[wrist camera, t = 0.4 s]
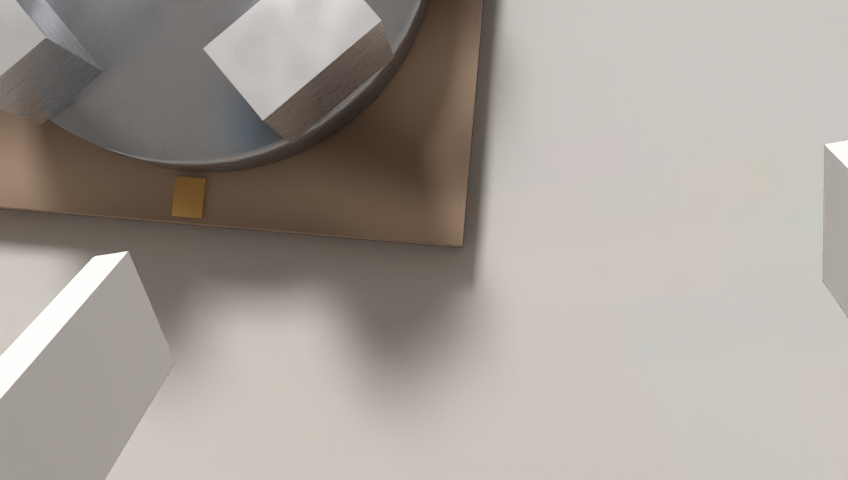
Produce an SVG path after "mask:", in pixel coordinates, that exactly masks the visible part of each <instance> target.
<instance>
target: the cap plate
mask: <svg viewBox="0 0 848 480" xmlns="http://www.w3.org/2000/svg"><path fill="white" fill-rule="evenodd" d="M483 2H484V0H429V3H428V6H427V10H426V13H425V16H424V20H423V23H422V25H421V28H420V30H419V32H418V34H417V37H416V39H415V41H414V43H413V46H412V48H411V50H410V52H409V53H408V55H407V57H406V58H405V60H404V61H403V63H402V65H401V66H400V68H399V70H398V71H397V73H396V75H395V76H394V77H393V78H392V80H391V81H390V82H389V83H388V85H387V86H386V87H385V88H384V90H383V91H382V92H381V93H380V95H379V96H378V97H377V98H376V99H375V100H374V101H373V102H372V103H371V104H370V105H369V106H368V107H367V108H366V109H365V110H364V111H363V112H362V113H361V114H360V115H359V116H357V117H356V118H355V119H354V120H353V121H351V122H350V123H349V124H347V125H346V126H345V127H343V128H342V129H341V130H339V131H338V132H337V133H335V134H334V135H332V136H331V137H329V138H328V139H326V140H324V141H322V142H320V143H319V144H317V145H315V146H313V147H311V148H310V149H308V150H306V151H304V152H301V153H299V154H296V155H294V156H291V157H289V158H286V159H284V160H281V161H279V162H275V163H271V164H267V165H263V166H259V167H256V168H252V169H246V170H238V171H229V172H221V173H215V172H187V171H180V170H173V169H166V168H161V167H158V166H154V165H151V164H147V163H144V162H140V161H137V160H134V159H131V158H129V157H126V156H124V155H121V154H118V153H116V152H113V151H111V150H108V149H106V148H103V147H100V146H98V145H96V144H94V143H91V142H89V141H87V140H85V139H82V138H80V137H78V136H76V135H73V134H71V133H70V132H68V131H67V130H65V129H63V128H62V127H60V126H58V125H57V124H55V123H54V122H52V121H50V120H49V119H47V120H46V121H45V122H44V123H42V124H38V123H35V122H33V121H30V120H28V119H25V118H22V117H20V116H17V115H15V114H12V113H10V112H7V111H4V110H2V109H0V209H12V210H24V211H36V212H47V213H59V214H71V215H83V216H95V217H106V218H118V219H130V220H142V221H154V222H165V223H177V224H189V225H201V226H213V227H224V228H236V229H248V230H260V231H272V232H283V233H295V234H307V235H319V236H331V237H342V238H354V239H366V240H378V241H390V242H401V243H413V244H425V245H437V246H449V247H460V248H463V236H464V224H465V213H466V201H467V189H468V177H469V166H470V154H471V142H472V131H473V119H474V107H475V95H476V84H477V72H478V60H479V48H480V37H481V25H482V13H483Z"/></svg>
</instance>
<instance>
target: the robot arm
mask: <svg viewBox="0 0 848 480" xmlns="http://www.w3.org/2000/svg"><path fill="white" fill-rule="evenodd" d="M822 281H823V283H824V284H825V285H826V287H827V288H828V290H829V291H830V293H831V294H832V296H833V297H834V299H835V300H836V302H837V303H838V305H839V306H840V308H841V309H842V310H843V312H844V313H845V315H846V316H847V318H848V141H842V142H836V143H829V144H824V204H823V280H822ZM174 364H175V360H174V357H173V355H172V353H171V350H170V348H169V346H168V343H167V341H166V338H165V336H164V334H163V331H162V329H161V327H160V324H159V322H158V320H157V317H156V315H155V312H154V310H153V308H152V305H151V303H150V301H149V298H148V296H147V294H146V291H145V289H144V286H143V284H142V282H141V279H140V277H139V275H138V272H137V270H136V268H135V265H134V263H133V260H132V258H131V256H130V253H129V251H126V252H119V253H113V254H106V255H100V256H94V257H93V258H92V259H91V260H90V261H89V262H88V263H87V264H86V265H85V267H84V268H83V269H82V270H81V271H80V272H79V273H78V274H77V275H76V276H75V277H74V278H73V279H72V280H71V281H70V283H69V284H68V285H67V286H66V287H65V288H64V289H63V290H62V291H61V292H60V293H59V294H58V295H57V296H56V298H55V299H54V300H53V301H52V302H51V303H50V304H49V305H48V306H47V307H46V308H45V309H44V310H43V311H42V313H41V314H40V315H39V316H38V317H37V318H36V319H35V320H34V321H33V322H32V323H31V324H30V325H29V326H28V327H27V329H26V330H25V331H24V332H23V333H22V334H21V335H20V336H19V337H18V338H17V339H16V340H15V341H14V342H13V344H12V345H11V346H10V347H9V348H8V349H7V350H6V351H5V352H4V353H3V354H2V355H1V356H0V480H105V478H106V477H107V475H108V473H109V472H110V470H111V468H112V467H113V465H114V463H115V462H116V460H117V458H118V457H119V455H120V453H121V452H122V450H123V448H124V447H125V445H126V444H127V442H128V440H129V439H130V437H131V435H132V434H133V432H134V430H135V429H136V427H137V425H138V424H139V422H140V420H141V419H142V417H143V415H144V414H145V412H146V410H147V409H148V407H149V405H150V404H151V402H152V401H153V399H154V397H155V396H156V394H157V392H158V391H159V389H160V387H161V386H162V384H163V382H164V381H165V379H166V377H167V376H168V374H169V372H170V371H171V369H172V367H173V366H174Z"/></svg>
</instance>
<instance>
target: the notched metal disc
mask: <svg viewBox="0 0 848 480" xmlns="http://www.w3.org/2000/svg"><path fill="white" fill-rule="evenodd" d="M428 3H429V0H0V109H2V110H4V111H7V112H10V113H12V114H15V115H17V116H20V117H22V118H25V119H28V120H30V121H33V122H35V123H38V124H42V123H44V122H45V121H46V120H47V119H49V120H50V121H52V122H54V123H55V124H57V125H58V126H60V127H62V128H63V129H65V130H67V131H68V132H70V133H71V134H73V135H76V136H78V137H80V138H82V139H85V140H87V141H89V142H91V143H94V144H96V145H98V146H100V147H103V148H106V149H108V150H111V151H113V152H116V153H118V154H121V155H124V156H126V157H129V158H131V159H134V160H137V161H140V162H144V163H147V164H151V165H154V166H158V167H161V168H166V169H173V170H180V171H187V172H215V173H221V172H229V171H238V170H246V169H252V168H256V167H259V166H263V165H267V164H271V163H275V162H279V161H281V160H284V159H286V158H289V157H291V156H294V155H296V154H299V153H301V152H304V151H306V150H308V149H310V148H311V147H313V146H315V145H317V144H319V143H320V142H322V141H324V140H326V139H328V138H329V137H331V136H332V135H334V134H335V133H337V132H338V131H339V130H341V129H342V128H343V127H345V126H346V125H347V124H349V123H350V122H351V121H353V120H354V119H355V118H356V117H357V116H359V115H360V114H361V113H362V112H363V111H364V110H365V109H366V108H367V107H368V106H369V105H370V104H371V103H372V102H373V101H374V100H375V99H376V98H377V97H378V96H379V95H380V93H381V92H382V91H383V90H384V88H385V87H386V86H387V85H388V83H389V82H390V81H391V80H392V78H393V77H394V76H395V75H396V73H397V71H398V70H399V68H400V66H401V65H402V63H403V61H404V60H405V58H406V57H407V55H408V53H409V52H410V50H411V48H412V46H413V43H414V41H415V39H416V37H417V34H418V32H419V30H420V28H421V25H422V23H423V20H424V16H425V13H426V10H427V6H428Z"/></svg>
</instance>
